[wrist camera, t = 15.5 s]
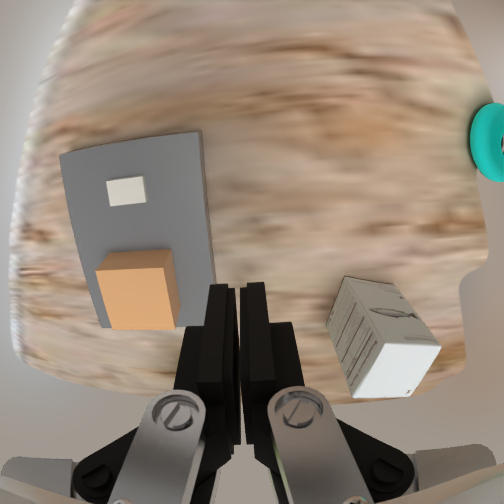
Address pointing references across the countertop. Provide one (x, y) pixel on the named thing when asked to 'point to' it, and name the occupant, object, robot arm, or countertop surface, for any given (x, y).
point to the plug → (140, 290)
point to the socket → (143, 211)
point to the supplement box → (379, 340)
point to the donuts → (488, 141)
